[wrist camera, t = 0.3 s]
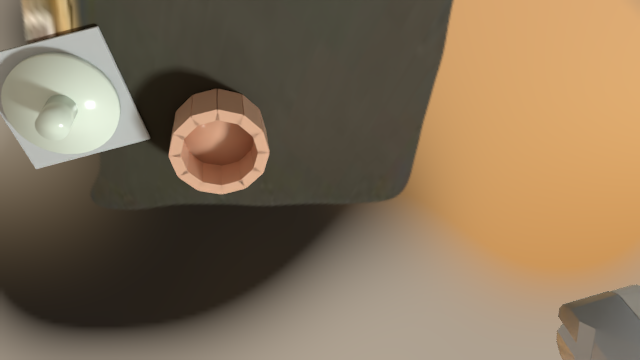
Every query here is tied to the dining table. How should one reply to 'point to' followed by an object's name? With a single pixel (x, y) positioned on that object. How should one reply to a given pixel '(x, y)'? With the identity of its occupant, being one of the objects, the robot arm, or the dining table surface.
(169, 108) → the dining table surface
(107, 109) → the lid
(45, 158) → the mat
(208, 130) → the bowl
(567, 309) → the robot arm
